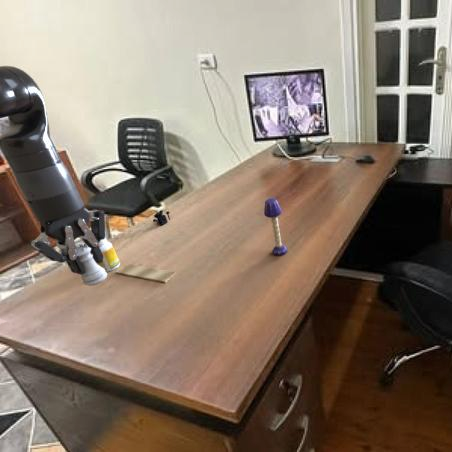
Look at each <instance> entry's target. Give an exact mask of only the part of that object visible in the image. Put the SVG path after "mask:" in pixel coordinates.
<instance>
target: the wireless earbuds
mask: <svg viewBox="0 0 452 452" xmlns="http://www.w3.org/2000/svg"><path fill="white" fill-rule="evenodd" d="M169 214H170V211H168V210H167V211H165V214H164V210H162V209H160V210H159V212H156V213H155V214H154V215H153V217H154V218H153V219H152V223H156V225H157V227H160V226H164V225H166V224H167V223H168V220H169V221H170V220H171V217H170V215H169ZM166 215H167V216H166ZM167 218H168V219H167Z"/></svg>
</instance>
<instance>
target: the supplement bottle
mask: <svg viewBox="0 0 452 452" xmlns="http://www.w3.org/2000/svg"><path fill="white" fill-rule="evenodd" d="M99 248H100V250H101V252H102V254H103V262H102V263H100V264H99V263H97V264H98V265H99V266H101V267H103V268H104V269H105V272H106V273H108V272H109V273H110V272H112V271H114V270H116V269H118V268H119V267H120V266H121V261H120V259H119V257H118V255H117V253H116V250H115V248H114V246H113V244H112V242H110V241H108V239H107V238H106V236H105V238H104V239H103V240H101V241H100V242H99Z"/></svg>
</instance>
